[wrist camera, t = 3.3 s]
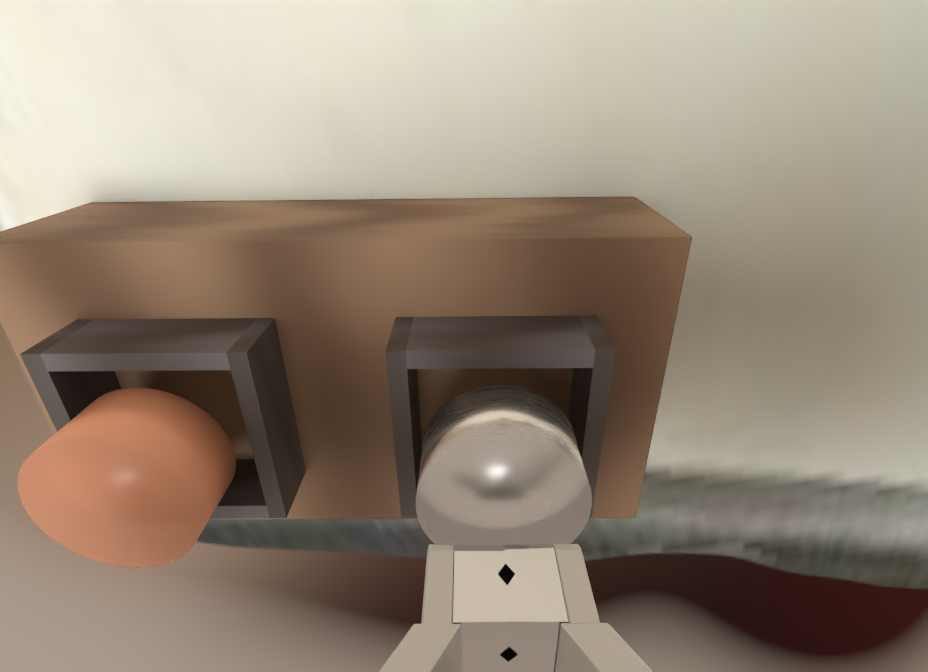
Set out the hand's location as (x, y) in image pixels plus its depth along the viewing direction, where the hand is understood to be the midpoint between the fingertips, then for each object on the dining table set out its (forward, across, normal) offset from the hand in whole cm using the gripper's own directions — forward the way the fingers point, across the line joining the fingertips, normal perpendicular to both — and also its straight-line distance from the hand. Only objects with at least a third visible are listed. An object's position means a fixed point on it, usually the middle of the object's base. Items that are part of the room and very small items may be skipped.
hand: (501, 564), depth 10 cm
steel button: (+4, 0, 0) cm, 4 cm away
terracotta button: (+3, +9, 0) cm, 9 cm away
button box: (+11, +4, 0) cm, 12 cm away
